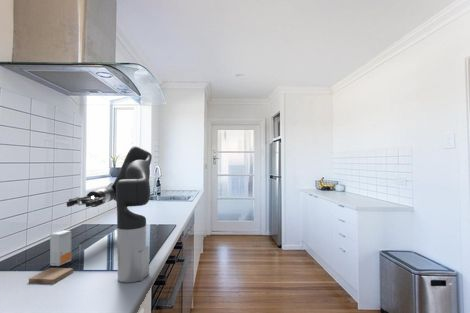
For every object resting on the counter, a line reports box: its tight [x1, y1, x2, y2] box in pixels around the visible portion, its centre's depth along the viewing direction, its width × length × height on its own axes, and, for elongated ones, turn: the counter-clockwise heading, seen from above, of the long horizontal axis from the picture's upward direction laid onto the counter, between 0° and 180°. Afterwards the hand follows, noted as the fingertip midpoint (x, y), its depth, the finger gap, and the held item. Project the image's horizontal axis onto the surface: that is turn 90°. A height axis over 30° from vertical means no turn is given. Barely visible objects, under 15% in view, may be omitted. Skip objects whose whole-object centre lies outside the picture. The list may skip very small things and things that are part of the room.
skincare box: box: [49, 229, 72, 267], centre depth 107 cm, size 6×4×12 cm
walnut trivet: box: [28, 267, 74, 284], centre depth 95 cm, size 9×9×1 cm
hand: (77, 204), depth 118 cm, fingers open, 8 cm apart
